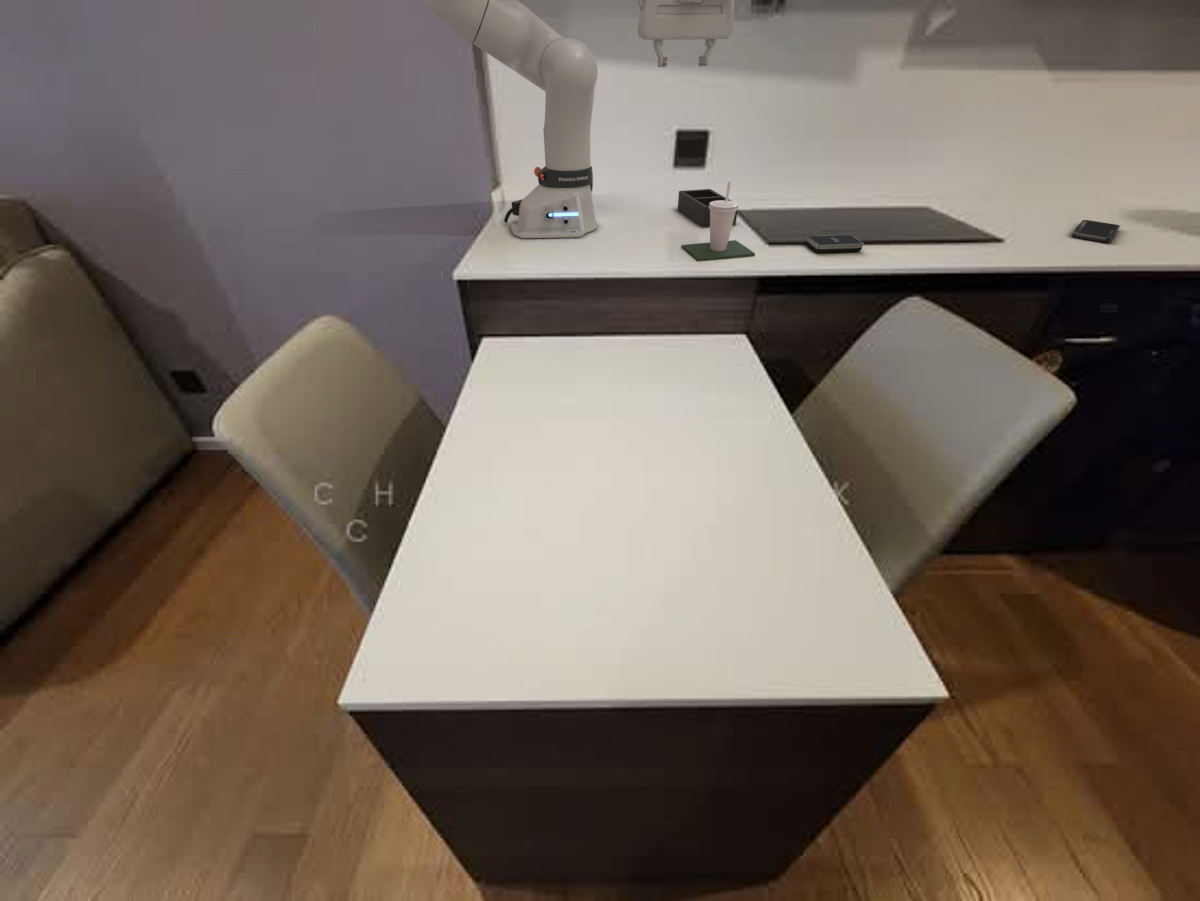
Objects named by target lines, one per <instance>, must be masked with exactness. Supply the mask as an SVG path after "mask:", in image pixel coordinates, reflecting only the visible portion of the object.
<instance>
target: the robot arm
mask: <svg viewBox="0 0 1200 901" xmlns="http://www.w3.org/2000/svg"><path fill="white" fill-rule="evenodd" d="M426 2H427V4H428V6H429V9H430V10H431V11H432V12H433V13H434V14H435V15H436V16H437V18H439V19H440V20H441V21H442V22H443V23H444V24H445V25H446V26H448V28H450V29H451V30H453V31H454V32H455V33H456V34H458V35H459V36H461V37H462V38H463V39H464V40H466V41H467V42H469V43H470V44H472V45H474V46H475V47H477V48H478V49H480V50H482V52H485V53H486V54H487V55H489V56H491V57H492V58H494V59H495V60H497V61H498V62H500V63H502V64H503V65H505V66H506V67H508V68H509V69H511V70H512V71H514V72H515V73H517V74H518V75H520V76H521V77H523V78H524V79H525V80H527V81H529V82H530V83H532V84H533V85H535V86H536V87H538V88H539V89H541V90H542V91H543V92H545V105H544V106H545V107H544V108H545V110H544V124H543V128H542V129H543V132H542V133H543V144H544V145H543V146H544V147H543V148H544V162H545V166H544V167H542V168H541V167H540V166H536V167H534V169H533V174H534V175H535V177H537V181H538V182H537V183H538V185H536V187H535V188H533V189H532V190H531V191H530V192H529V193H528V194H527V195H526V196H524V197H523V198H522V199H517V200H515V201H511V208H510V209H508V211H507V212H506V214H505V216H504V219H503V222H504V223H506V224H507V223H508V221H509V219H510V216H511V214H512V216H516V217H518V219H515V220H513V221H511V223H510V231H511V233H512V234H513V235H515V236H516V237H517V238H521V239H555V238H556V239H557V238H580V237H583V236H584V235H586V234H587V233H591V232H593V231H595V230H597V228H598V226H599V225H598V222H597V219H596V214H595V208H594V203H593V202H594V201H593V187H594V172H593V166H592V165H591V125H592V116H593V108H594V101H595V89H596V84H597V80H598V75H599V74H598V72H599V70H598V64H597V61H596V58H595V57H594V56H595V55H594V54H593V52H592V51H591V50H590V48H589V47H588V46H587V45H586V44H585V43H584V42H582V41H581V40H580V39H579V40H578V39H575V38H567V37H564V36H563V35H561V34H560V33H558V32H557V31H556V30H555V29H553V28H552V27H551V26H549V25H548V24H547V23H546V22H544V21H543V20H542V19H541V18H540V17H539V16H538V15H536V14H535V13H534V12H533V11H532V10H531V9H530V8H529V7H527V6H526V5H525V4H523V3H522V2H520V1H519V0H426ZM638 6H639V14H638V20H637V36H638V38H639V39H640V40H641V41H653V46H652V47H653V50H654V52H655V55H656V56H657V68H667V65H668V63H667V61H668V56H664V54H663V51H662V47H664V41H665V40H666V41H667V40H668V41H673V40H674V41H677V40H679V41H680V40H682V41H684V40H685V41H686V40H704V46H705V47H706V48H705V50H704V52H703V55H699V56H698V67H708V65H709V57H710V56H711V54H712V53H713V50H714V48H715V46H716V40H729V39H730V37H731V36H732V34H733V32H734V24H735V0H638Z"/></svg>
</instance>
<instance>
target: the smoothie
mask: <svg viewBox="0 0 1200 901" xmlns="http://www.w3.org/2000/svg"><path fill="white" fill-rule="evenodd" d="M731 183H732V182H731V181H728V182H727V187H726V193H725V194H726V195H725V197H726V200H718V201H712V202H710V204H709V209H710V227H709V243H710V249H711V250H714V251H724V250H726V247H727V243H728V241H730V237H731V236H730V235H731V232H732V227H733V225H732V224H733V221H734V217H735V213H736V211H737V210H738V211H739V204H738V202H736V201H733V200H731V201H728V199H730V198H729V197H730V196H729V195H730V189H731Z"/></svg>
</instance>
